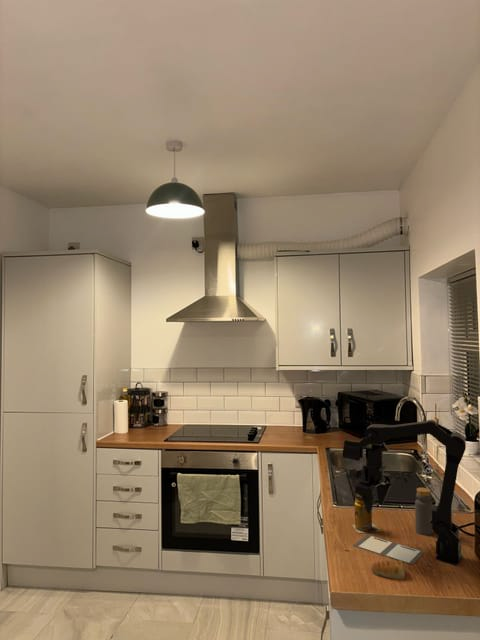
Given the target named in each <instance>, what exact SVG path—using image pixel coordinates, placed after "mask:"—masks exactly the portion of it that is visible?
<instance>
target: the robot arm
mask: <svg viewBox="0 0 480 640" xmlns="http://www.w3.org/2000/svg"><path fill="white" fill-rule="evenodd" d="M420 435H430V436H432V437H433V438H435V439H436V440H437V441H438V442H439V443H440V444H441V445H443V446H445V468H444V472H443V473H444V474H443V478H442V485H441V490H440V497H439V502H438V504H437V505H435V504H432V506H433V507H432V514H431V518H430V523H432V530H433V533H434V534H436V536H437V540H436V541H435V554H436V556H435V559H436V560H439V561H442V562H444V563H445V562H446V563H448V564H452V565H455V566H458V565H459V564H460V563H461V562H462V560H463V559H464V556H463V555H462V540H461V539H460V528H459V527H458V526H457V525H456V524H455V523H454V522H453V519H452V518H453V517H452V516H453V513H452V512H453V509H452V505H453V499H454V496H455V495H454V493H455V488H456V481H457V477H458V470H459V466H460V463H461V461H462V459H463V457H464V454H465V452H466V447H467V446H466V438H465V436H464V435H463V434H461V433H459V432H453V431H452V430H450V429H448V428H447V427H445V426H443V425H442V424H440V423H438V422H437V421H436V420H434V419H428V420H423V421H417V422H416V421H415V422H409V423H400V424H393V425H392V424H385V423H383V424H382V423H381V424H379V423H371V424H370V425H369V426H368V427H366V428H365V431H364V433H363V437H362V438H361V439H360V440H353V439H349V438H347V439H344V441H343V442H344V443H343V446H342V447H343V449H342V458H343V460H347V461H348V460H349V461H354V462H355V461H356V462H361V461H362V459H365V464H364V465H363V466H362V467H360V468H359V467H358V468H351V469H348V476H347V477H348V478H349V479H350V480H351V481H352V482H355V481H359V480H361V481H359V482H358V483H356V484H355V485H353V487H354V488H353V491H354V493H355V494H356V495H357V494H358V495H360V496H361V497H362V499H363V501H364V504H365V507H366V510H367V513H371V511H373V508H374V504H375V501H376V498H377V502H378V505H379V506H383V505H384V502H385V501H386V498H387V496H388V493H389V492H390V490H391V487H392V486H393V484H394V482H395V481H394V480H395V478H394V476H393V474H391V473H387V472H384V470H385V469H386V465H385V464H384V452H388V451H389V449H390V446H388V445H387V444H386V443H385V442H387V441H389V440H391V439H396V438H403V437H404V438H405V437H412V436H420ZM380 443H381V444H380Z"/></svg>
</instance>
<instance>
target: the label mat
mask: <svg viewBox="0 0 480 640" xmlns="http://www.w3.org/2000/svg"><path fill="white" fill-rule="evenodd" d="M352 546H353V547H354V548H355V547H356V548H358V549H362V550H364V551H367V552H371V553H375V554H377V555H381V556H383V557H388V559H391V560H395V561H399V560H400V561H402V563H405V564H408V565H411V566H413V565H415V563H416V562H417V561H418V560H419V559H420V557H422V556H423V555H424V553H425V551H424V550H420V549H417V548H413V547H411V546H406V545H403V544H400V543H396V542H394V541H391V540H387V539H384V538H382V537H378V536H374V535H371V534H368V533H367V534H366V535H365V536H363V537H362V538H361V539H359V540H358V541H357V542H355V543H354V544H353V545H352Z"/></svg>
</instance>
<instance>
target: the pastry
mask: <svg viewBox="0 0 480 640" xmlns="http://www.w3.org/2000/svg"><path fill="white" fill-rule="evenodd" d="M403 563H404V562H402V561H400V560H399V561H398V560H395V559H390V558H388V559H386V560H382V561H381V560H379V561H377V562H373V563H372V565H371V568H370V569H371V572H372V573H374V574H375V575H377V576H382V577H384V578H391V579H398V580H402V579H405V577H406V574H405V570H404V569H405V568H404V564H403Z"/></svg>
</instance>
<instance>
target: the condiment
mask: <svg viewBox="0 0 480 640" xmlns="http://www.w3.org/2000/svg"><path fill="white" fill-rule="evenodd" d="M372 511H373V510H372ZM372 511H371V513H367V510H366V507H365V504H364V501H363V499H362V497H361V496H360V495H358V494H357V493H356V494H355V502H354V524H351V526H352V528H353V529H355V531H356V532H357V533H359V534H361V533H362V534H364V533H365V534H366V533H367V534H368V533H376V532H377V533H378V532H381V530H380V529H379V528H378V526H376V525H375V524H374V523H373V514H372V513H373V512H372Z"/></svg>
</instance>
